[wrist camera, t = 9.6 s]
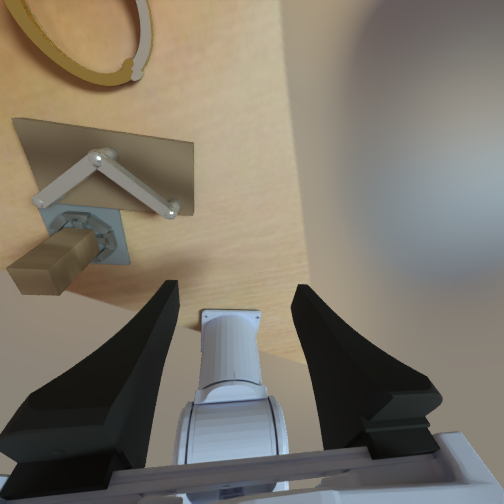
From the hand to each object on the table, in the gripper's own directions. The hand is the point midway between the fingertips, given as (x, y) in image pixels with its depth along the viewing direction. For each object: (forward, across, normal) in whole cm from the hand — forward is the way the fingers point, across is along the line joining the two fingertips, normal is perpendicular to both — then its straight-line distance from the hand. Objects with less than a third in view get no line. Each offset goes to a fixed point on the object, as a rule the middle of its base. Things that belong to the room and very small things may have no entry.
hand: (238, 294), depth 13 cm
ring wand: (+10, +14, +3) cm, 17 cm away
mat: (+10, +14, +3) cm, 18 cm away
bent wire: (+10, +10, -4) cm, 15 cm away
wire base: (+10, +10, -4) cm, 15 cm away
